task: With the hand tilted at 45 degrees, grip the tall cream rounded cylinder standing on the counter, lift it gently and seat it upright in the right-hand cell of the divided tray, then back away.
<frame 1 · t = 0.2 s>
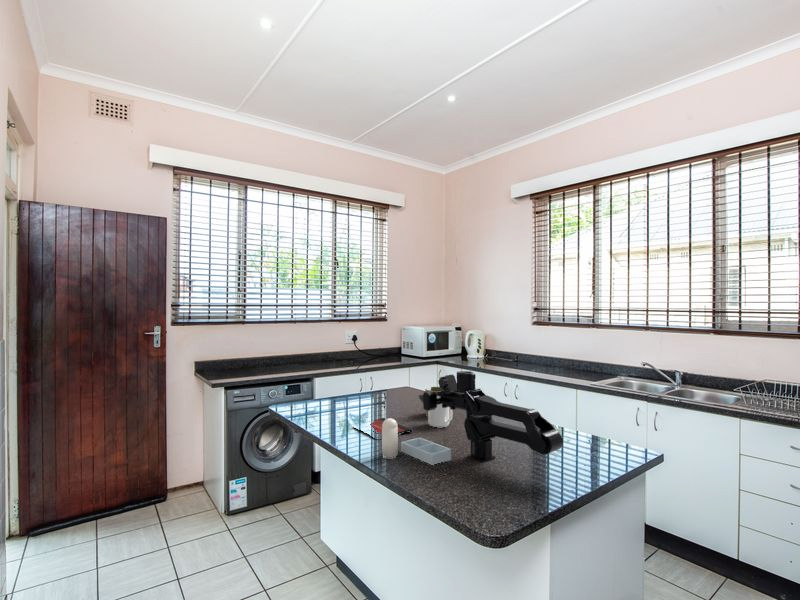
hand: (428, 394, 160), 17 cm above the table, tool horizontal, fingers open, 9 cm apart
divided tray: (425, 456, 142), on the table
binder: (380, 432, 172), on the table
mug: (441, 426, 178), on the table
cream rounded cylinder: (389, 456, 142), on the table
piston: (437, 415, 195), on the table
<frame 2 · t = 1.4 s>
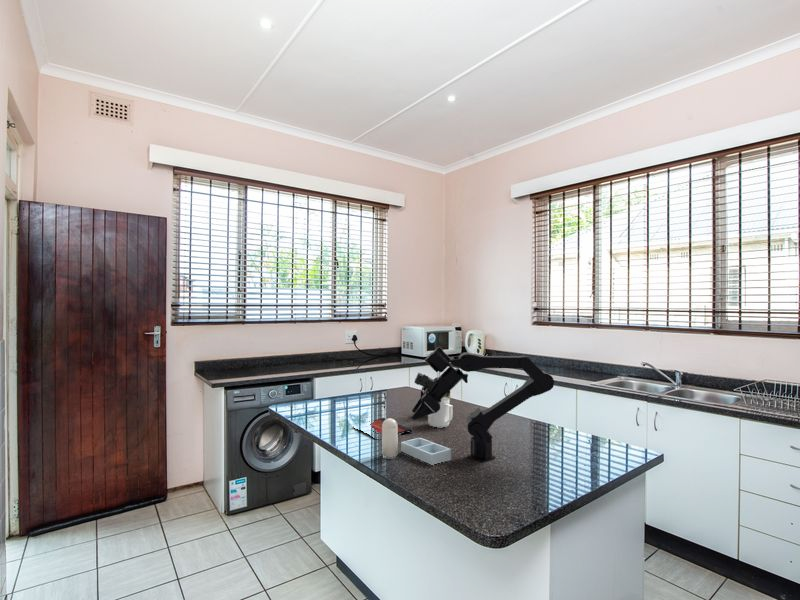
hand: (412, 415, 142), 14 cm above the table, tool tilted 45°, fingers open, 9 cm apart
nothing on the table moved.
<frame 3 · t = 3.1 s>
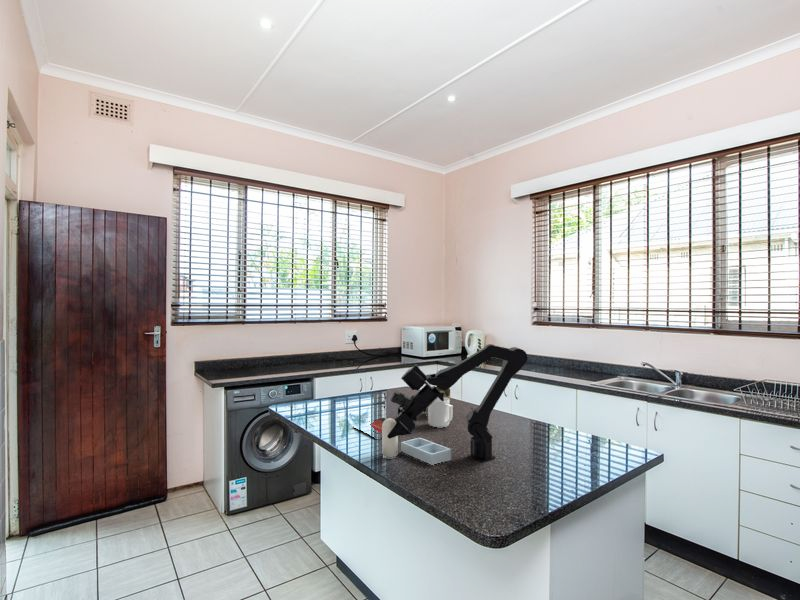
hand: (389, 433, 142), 8 cm above the table, tool tilted 45°, fingers open, 9 cm apart
nothing on the table moved.
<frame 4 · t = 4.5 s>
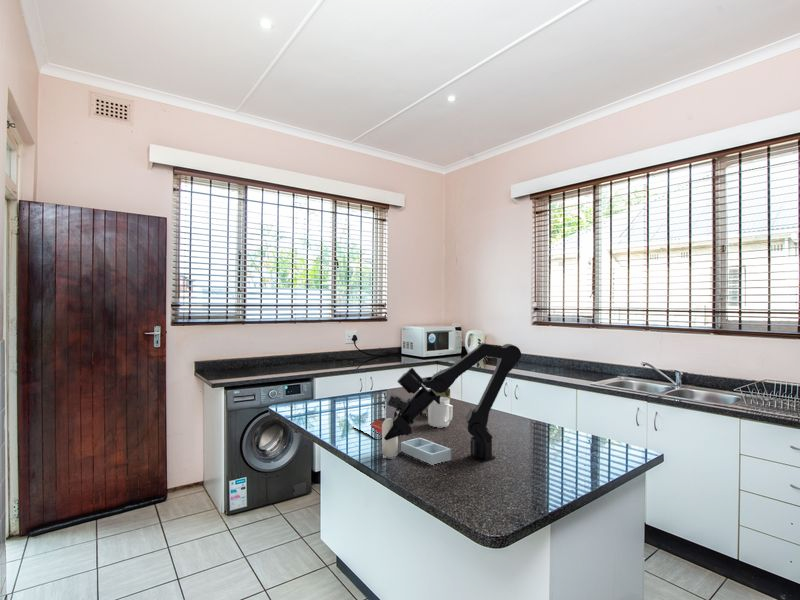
hand: (385, 436, 142), 7 cm above the table, tool tilted 45°, fingers closed on cream rounded cylinder, 5 cm apart
cream rounded cylinder: (389, 456, 142), on the table, touching gripper
everything else where it was.
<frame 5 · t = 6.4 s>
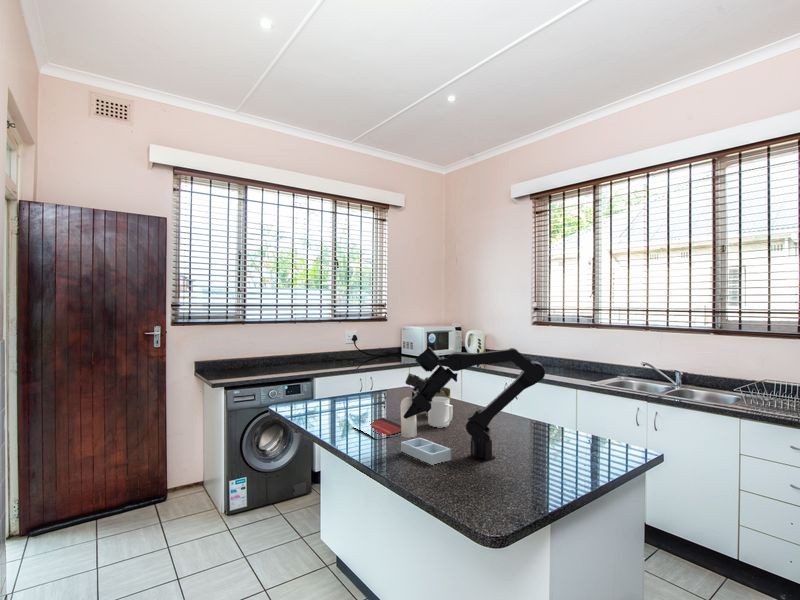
hand: (404, 415, 144), 13 cm above the table, tool tilted 45°, fingers closed on cream rounded cylinder, 5 cm apart
cream rounded cylinder: (408, 435, 144), point 7 cm above the table, touching gripper
everything else where it was.
when the fingers open (9 cm above the table, at t = 8.1 s): cream rounded cylinder drops 1 cm, resting on divided tray.
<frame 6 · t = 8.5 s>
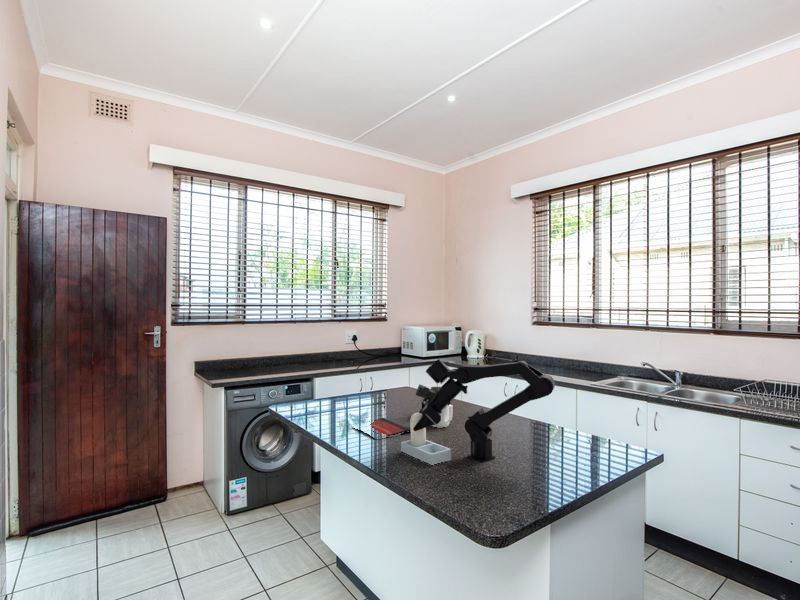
hand: (414, 426, 145), 9 cm above the table, tool tilted 45°, fingers open, 9 cm apart
cream rounded cylinder: (418, 450, 145), point 1 cm above the table, touching divided tray
everything else where it was.
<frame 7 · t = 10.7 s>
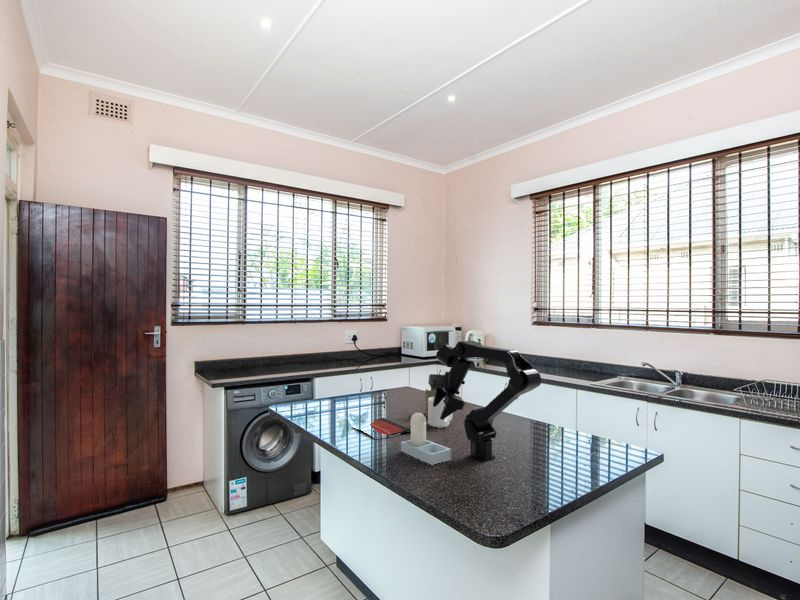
hand: (437, 412, 151), 12 cm above the table, tool tilted 25°, fingers open, 9 cm apart
nothing on the table moved.
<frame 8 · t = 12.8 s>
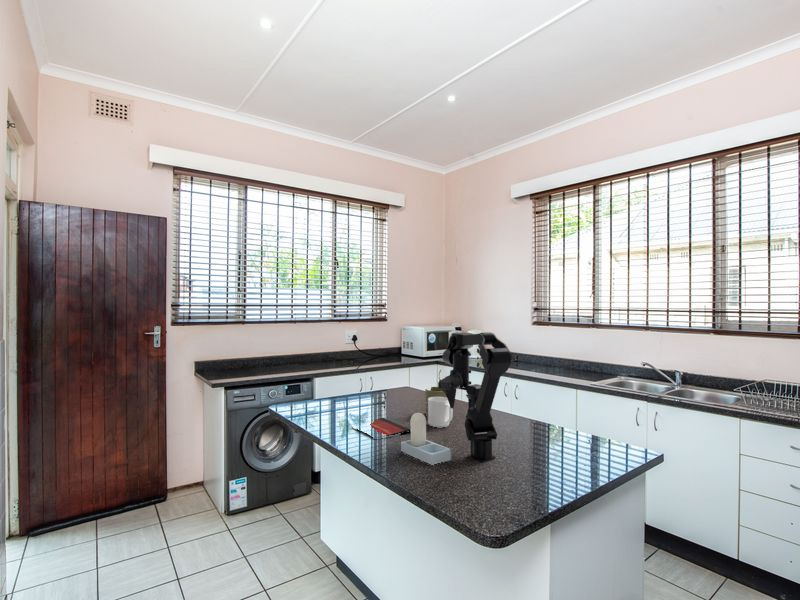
hand: (461, 410, 155), 12 cm above the table, tool pointing down, fingers open, 9 cm apart
nothing on the table moved.
at the end: cream rounded cylinder 0.0 cm from the target spot on the divided tray, point 1.0 cm above the divided tray's base; cream rounded cylinder tilted 1°; the gripper is holding nothing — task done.
